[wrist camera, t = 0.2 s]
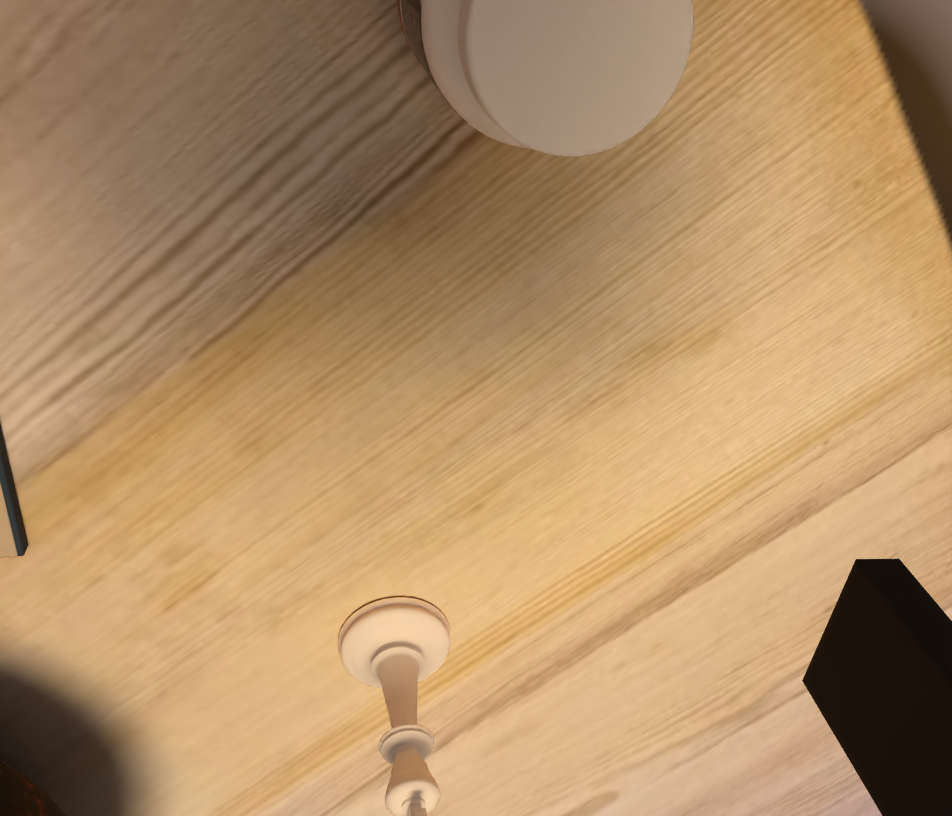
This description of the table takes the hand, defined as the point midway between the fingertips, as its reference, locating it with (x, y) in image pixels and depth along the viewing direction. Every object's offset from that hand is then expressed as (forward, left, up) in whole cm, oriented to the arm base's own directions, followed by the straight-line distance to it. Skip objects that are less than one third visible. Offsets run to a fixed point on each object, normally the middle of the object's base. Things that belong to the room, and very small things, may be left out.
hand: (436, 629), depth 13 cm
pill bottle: (-7, +4, -19) cm, 20 cm away
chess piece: (+19, +2, -19) cm, 27 cm away
